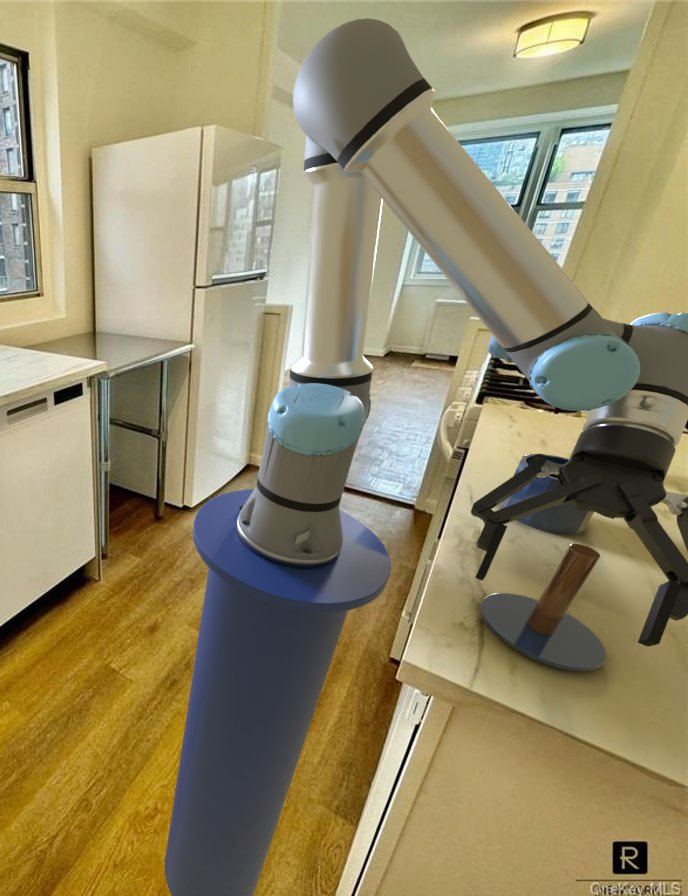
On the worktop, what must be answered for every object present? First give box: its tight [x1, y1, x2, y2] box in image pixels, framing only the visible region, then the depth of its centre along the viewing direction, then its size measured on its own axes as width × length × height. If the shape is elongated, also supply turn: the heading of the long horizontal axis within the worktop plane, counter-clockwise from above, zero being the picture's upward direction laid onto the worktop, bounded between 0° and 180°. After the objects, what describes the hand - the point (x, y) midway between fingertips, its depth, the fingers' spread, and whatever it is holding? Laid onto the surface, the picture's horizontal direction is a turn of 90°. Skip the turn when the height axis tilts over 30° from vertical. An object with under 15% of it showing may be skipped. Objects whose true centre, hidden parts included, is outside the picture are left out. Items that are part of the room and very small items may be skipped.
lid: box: [478, 543, 607, 672], centre depth 53 cm, size 11×11×12 cm
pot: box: [500, 453, 595, 535], centre depth 75 cm, size 10×10×8 cm
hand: (557, 607), depth 52 cm, fingers open, 13 cm apart
